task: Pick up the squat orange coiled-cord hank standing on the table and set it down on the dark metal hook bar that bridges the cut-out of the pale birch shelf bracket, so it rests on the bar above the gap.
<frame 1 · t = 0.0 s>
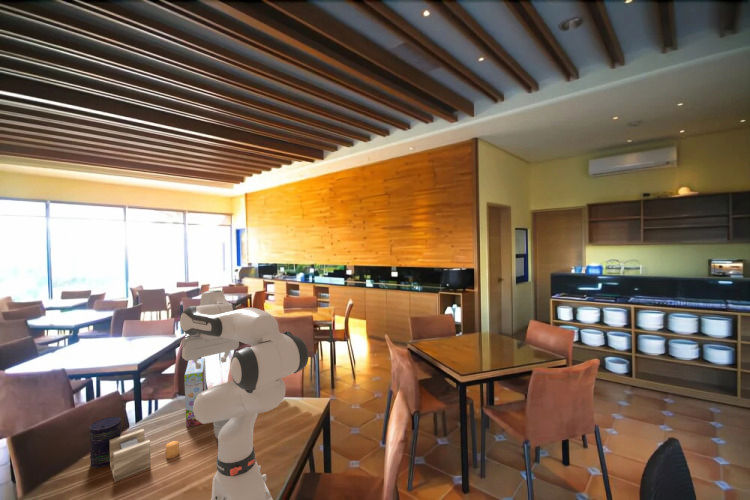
hand: (211, 364, 128), 39 cm above the table, tool pointing down, fingers open, 8 cm apart
snack box: (196, 416, 165), on the table
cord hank: (172, 455, 134), on the table
shelf bracket: (130, 466, 127), on the table
storage jar: (106, 460, 131), on the table
teacup: (229, 435, 148), on the table
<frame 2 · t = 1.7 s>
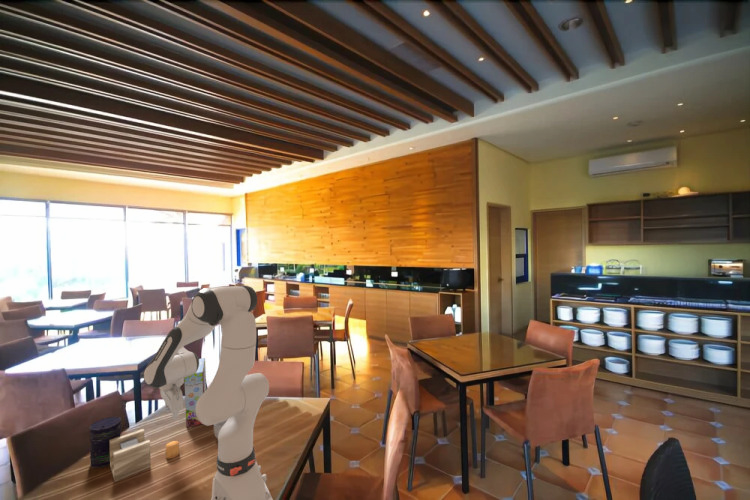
hand: (171, 414, 134), 17 cm above the table, tool pointing down, fingers open, 8 cm apart
nothing on the table moved.
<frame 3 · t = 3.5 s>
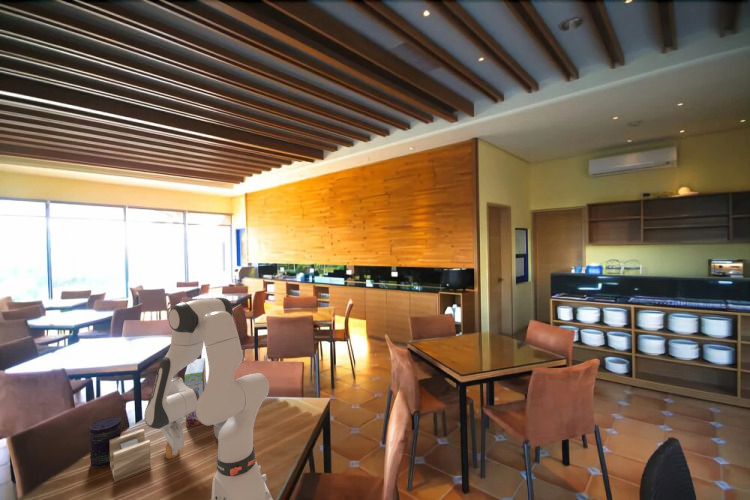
hand: (172, 450, 134), 2 cm above the table, tool pointing down, fingers closed on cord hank, 5 cm apart
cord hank: (172, 454, 134), on the table, touching gripper
everything else where it was.
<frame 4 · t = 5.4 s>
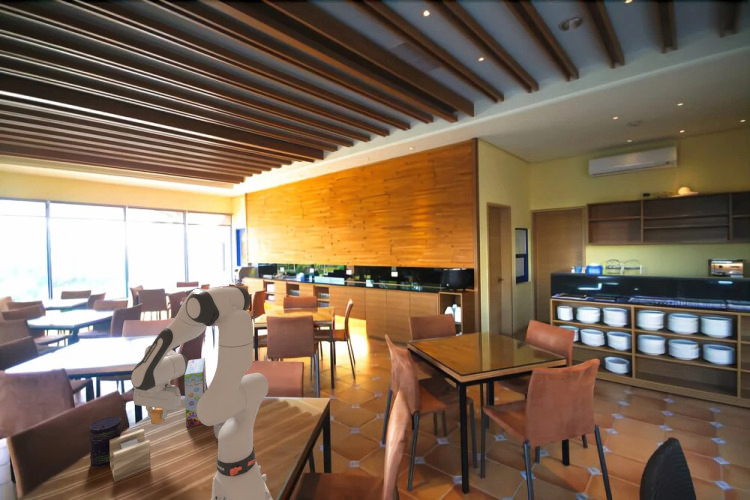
hand: (157, 417, 132), 17 cm above the table, tool pointing down, fingers closed on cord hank, 5 cm apart
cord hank: (157, 421, 132), point 15 cm above the table, touching gripper
everything else where it was.
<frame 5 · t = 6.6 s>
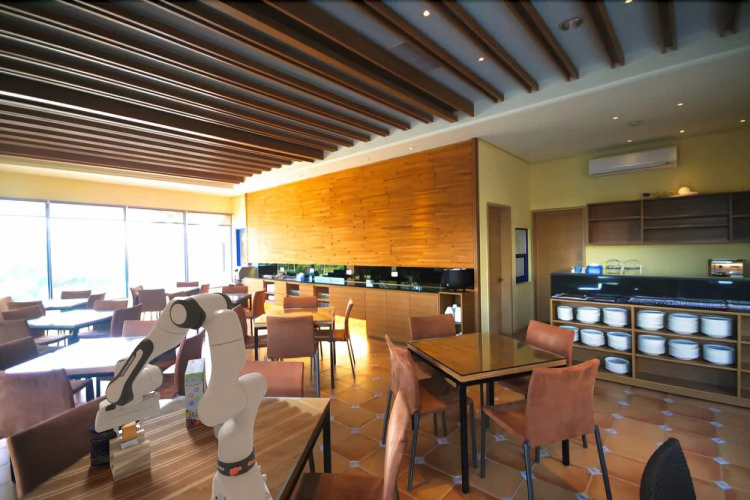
hand: (129, 433, 127), 13 cm above the table, tool pointing down, fingers closed on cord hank, 5 cm apart
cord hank: (129, 437, 127), point 11 cm above the table, touching gripper
everything else where it was.
when the fingers open (11 cm above the table, at t = 7.3 s): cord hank stays where it is, resting on shelf bracket.
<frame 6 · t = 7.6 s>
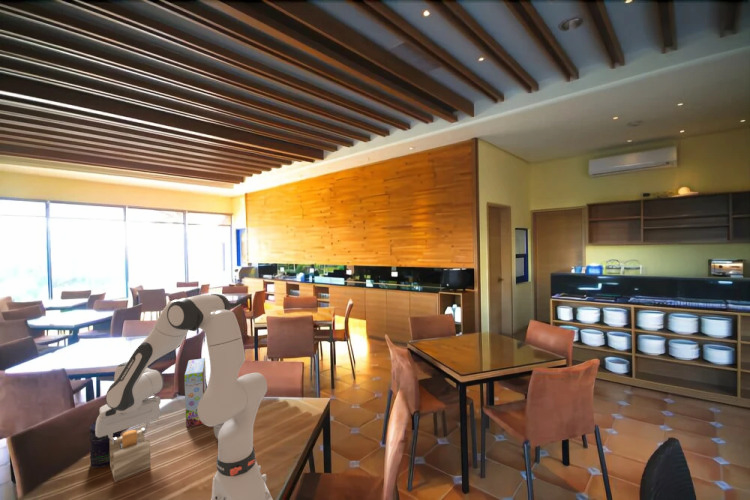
hand: (129, 438, 127), 11 cm above the table, tool pointing down, fingers open, 8 cm apart
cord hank: (129, 444, 127), point 9 cm above the table, touching shelf bracket
everything else where it was.
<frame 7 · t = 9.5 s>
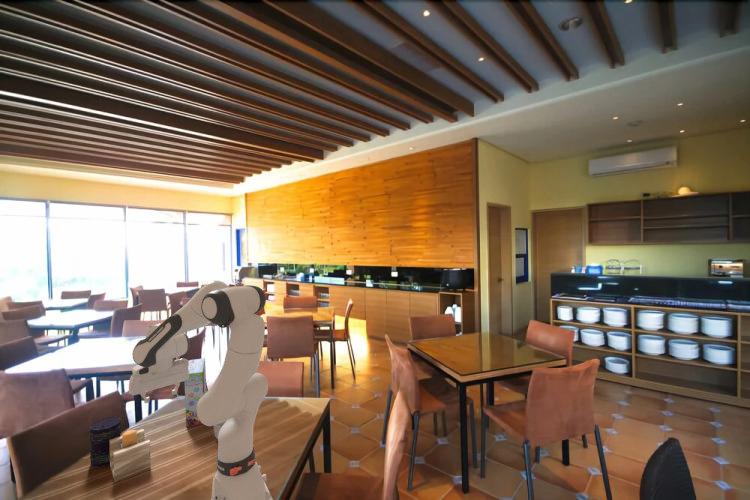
hand: (161, 398, 130), 25 cm above the table, tool pointing down, fingers open, 8 cm apart
nothing on the table moved.
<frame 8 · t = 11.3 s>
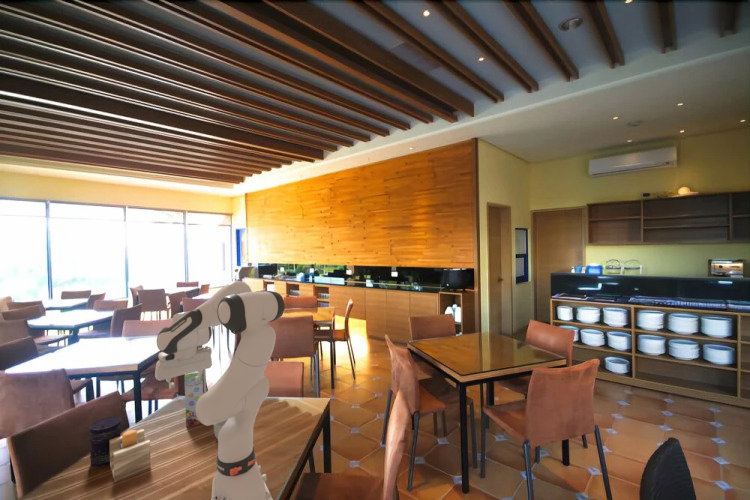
hand: (185, 384, 133), 29 cm above the table, tool pointing down, fingers open, 8 cm apart
nothing on the table moved.
at the end: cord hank 0.0 cm off-centre on the shelf bracket, point 8.5 cm above the shelf bracket's base; the gripper is holding nothing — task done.
